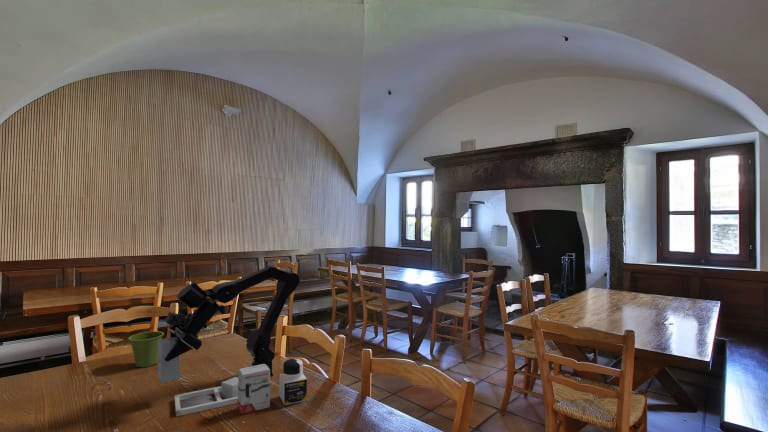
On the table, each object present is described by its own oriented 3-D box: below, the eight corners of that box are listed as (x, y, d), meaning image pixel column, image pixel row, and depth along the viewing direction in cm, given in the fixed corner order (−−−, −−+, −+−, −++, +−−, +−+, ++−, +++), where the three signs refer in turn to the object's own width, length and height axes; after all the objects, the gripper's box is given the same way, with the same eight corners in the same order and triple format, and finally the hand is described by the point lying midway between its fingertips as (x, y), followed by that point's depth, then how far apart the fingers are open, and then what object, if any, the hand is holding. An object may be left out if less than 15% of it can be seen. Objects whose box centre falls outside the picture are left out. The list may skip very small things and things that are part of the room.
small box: (235, 390, 130) (235, 375, 130) (247, 394, 128) (247, 379, 128) (220, 397, 125) (220, 382, 126) (232, 401, 123) (232, 386, 123)
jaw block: (175, 373, 127) (175, 336, 127) (179, 378, 123) (179, 340, 123) (158, 378, 123) (157, 339, 123) (161, 383, 120) (161, 343, 120)
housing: (247, 385, 134) (247, 380, 134) (255, 399, 124) (255, 394, 124) (174, 400, 123) (174, 395, 123) (176, 416, 113) (176, 411, 113)
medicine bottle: (284, 405, 120) (284, 366, 120) (279, 396, 126) (279, 359, 126) (307, 400, 123) (307, 362, 123) (300, 392, 129) (301, 355, 130)
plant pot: (155, 356, 162) (155, 329, 162) (169, 363, 155) (169, 334, 155) (122, 365, 152) (123, 336, 152) (136, 372, 145) (136, 342, 145)
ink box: (241, 415, 114) (241, 374, 114) (237, 408, 118) (237, 368, 118) (270, 407, 119) (270, 368, 119) (265, 400, 123) (265, 363, 123)
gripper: (174, 297, 133) (137, 337, 126) (190, 307, 119) (148, 352, 111) (199, 316, 138) (164, 355, 131) (217, 328, 124) (179, 372, 117)
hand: (163, 358), depth 122 cm, fingers closed on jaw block, 5 cm apart
